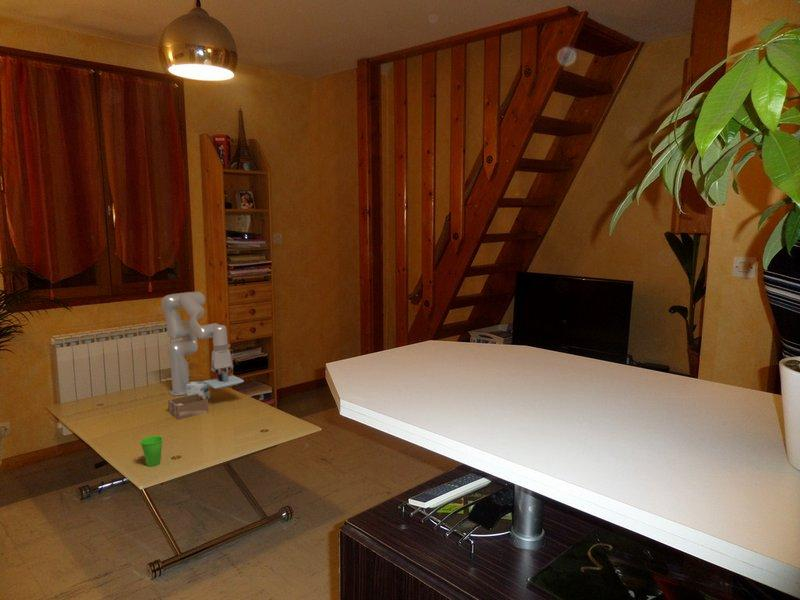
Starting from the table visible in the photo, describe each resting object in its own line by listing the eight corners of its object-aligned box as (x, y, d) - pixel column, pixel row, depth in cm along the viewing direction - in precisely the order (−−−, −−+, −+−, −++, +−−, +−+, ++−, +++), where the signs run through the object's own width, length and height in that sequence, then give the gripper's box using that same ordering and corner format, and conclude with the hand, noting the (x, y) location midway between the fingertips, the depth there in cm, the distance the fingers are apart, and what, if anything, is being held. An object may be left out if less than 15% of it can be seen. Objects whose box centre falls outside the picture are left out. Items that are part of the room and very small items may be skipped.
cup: (137, 466, 232) (134, 442, 230) (154, 458, 240) (152, 434, 238) (152, 470, 228) (150, 445, 227) (169, 461, 236) (167, 437, 235)
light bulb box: (210, 399, 318) (209, 381, 316) (205, 403, 311) (203, 384, 310) (192, 399, 319) (191, 381, 317) (187, 402, 312) (185, 384, 311)
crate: (169, 414, 294) (168, 400, 293) (199, 407, 304) (198, 393, 303) (178, 421, 283) (177, 406, 282) (208, 414, 294) (207, 399, 292)
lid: (203, 384, 305) (202, 372, 304) (232, 378, 316) (231, 366, 315) (213, 390, 294) (212, 377, 293) (243, 383, 305) (243, 371, 304)
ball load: (173, 412, 294) (173, 403, 293) (183, 410, 297) (182, 401, 296) (177, 414, 290) (176, 405, 289) (186, 412, 293) (185, 403, 293)
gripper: (231, 344, 310) (234, 375, 313) (203, 349, 300) (206, 381, 303) (237, 346, 305) (239, 378, 307) (209, 351, 294) (211, 384, 297)
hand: (223, 379), depth 305 cm, fingers closed on lid, 2 cm apart
